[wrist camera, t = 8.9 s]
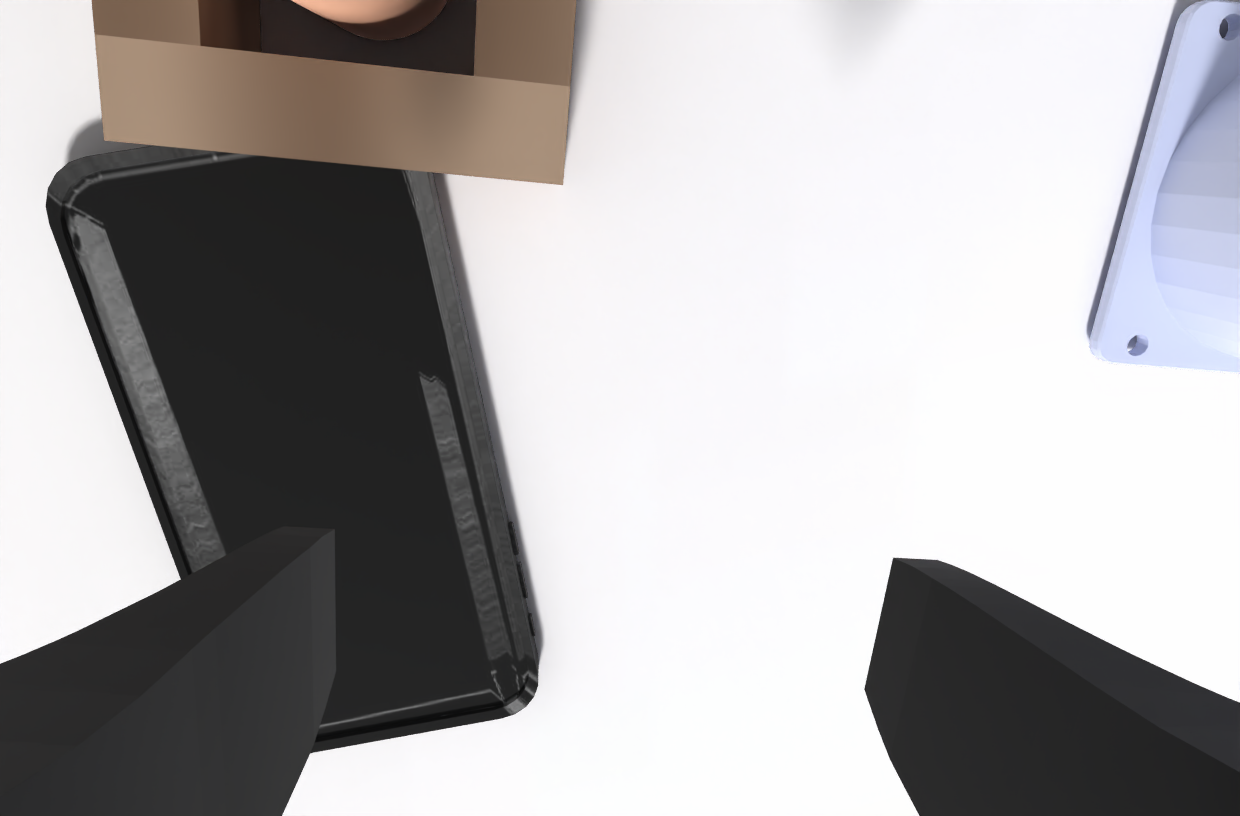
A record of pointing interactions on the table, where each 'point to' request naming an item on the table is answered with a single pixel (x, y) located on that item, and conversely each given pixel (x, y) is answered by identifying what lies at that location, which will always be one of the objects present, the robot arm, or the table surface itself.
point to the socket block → (338, 91)
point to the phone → (311, 407)
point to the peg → (377, 15)
